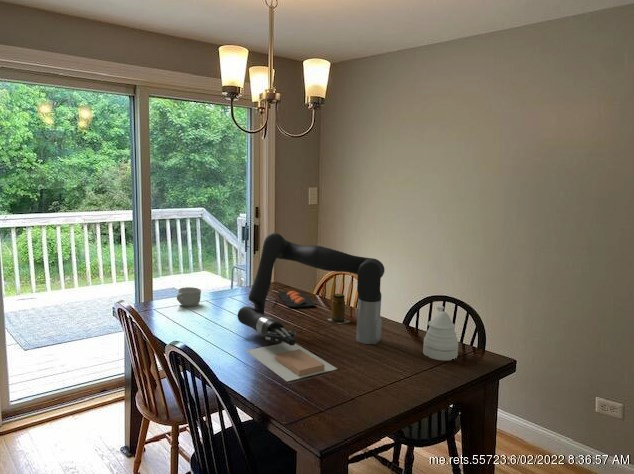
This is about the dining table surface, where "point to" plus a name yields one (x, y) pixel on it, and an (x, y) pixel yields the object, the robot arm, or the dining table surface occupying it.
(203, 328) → the dining table surface
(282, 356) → the tile
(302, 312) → the dining table surface
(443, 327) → the honey pot
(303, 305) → the sushi plate
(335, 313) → the condiment
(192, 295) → the teacup
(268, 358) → the mat
